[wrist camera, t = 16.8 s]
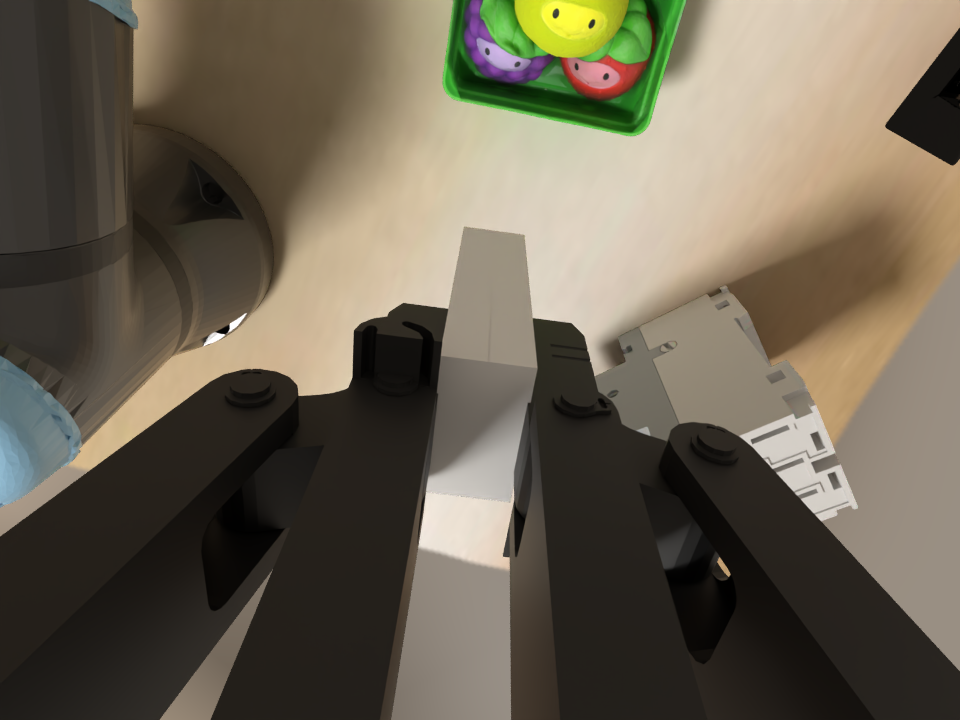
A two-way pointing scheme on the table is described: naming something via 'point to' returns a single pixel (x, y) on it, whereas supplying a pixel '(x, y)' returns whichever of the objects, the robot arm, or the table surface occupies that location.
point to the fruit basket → (563, 58)
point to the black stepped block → (934, 107)
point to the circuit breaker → (726, 394)
